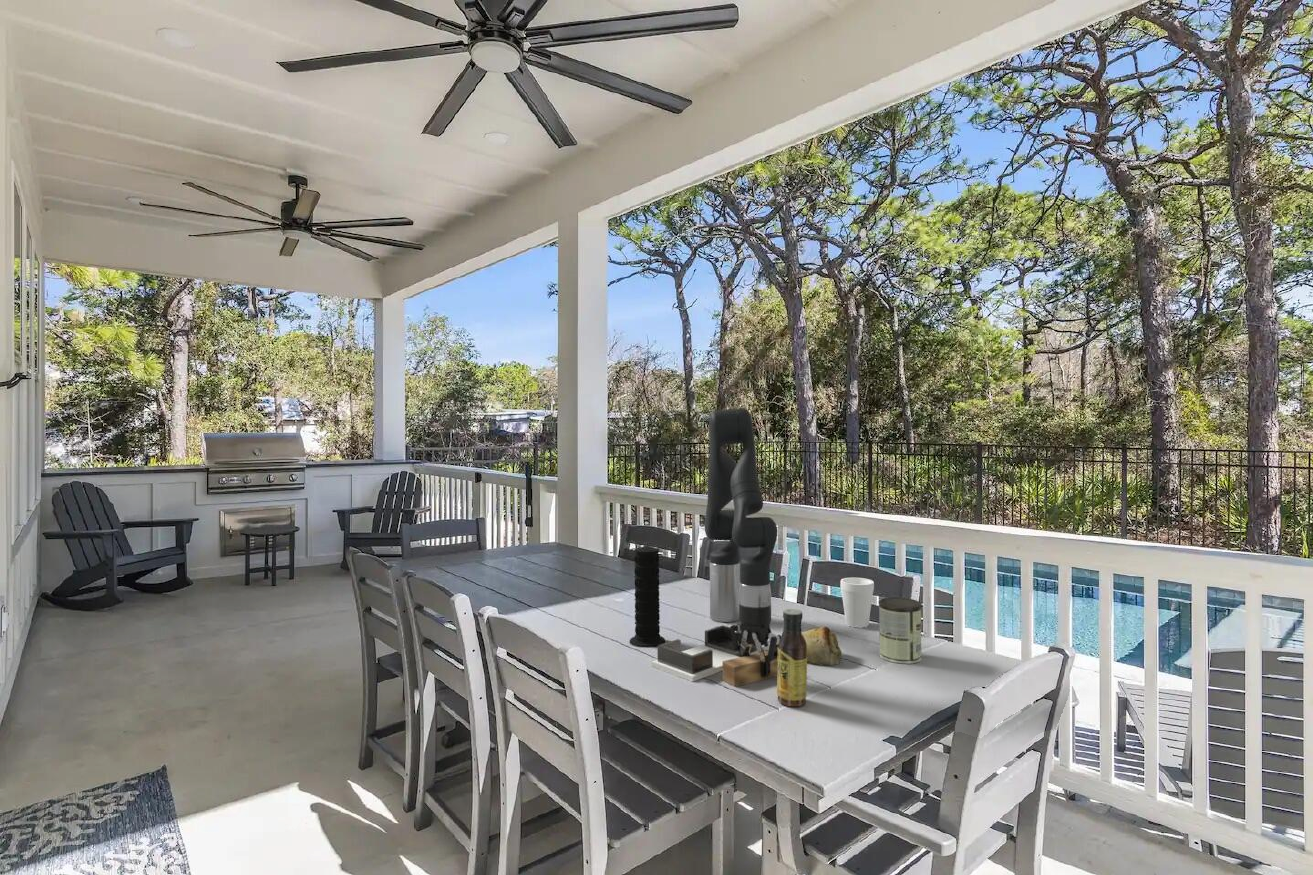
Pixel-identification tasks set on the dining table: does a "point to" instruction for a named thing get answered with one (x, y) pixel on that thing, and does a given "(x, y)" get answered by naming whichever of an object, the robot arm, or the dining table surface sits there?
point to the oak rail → (746, 670)
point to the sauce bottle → (792, 661)
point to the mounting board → (717, 667)
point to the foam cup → (857, 600)
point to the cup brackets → (701, 661)
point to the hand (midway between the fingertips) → (755, 672)
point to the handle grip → (647, 598)
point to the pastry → (822, 646)
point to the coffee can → (900, 630)
